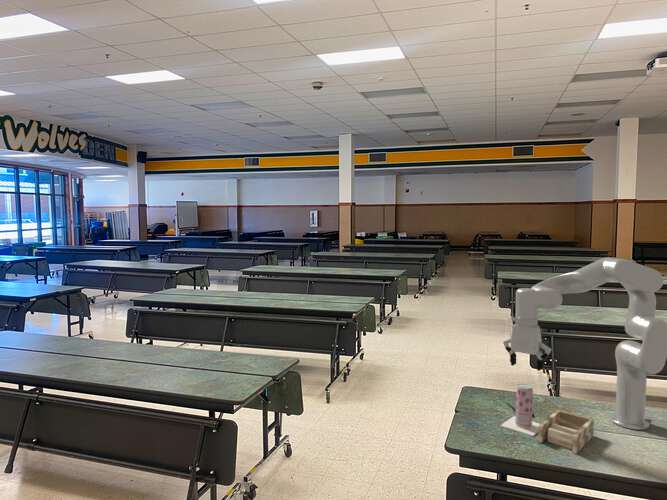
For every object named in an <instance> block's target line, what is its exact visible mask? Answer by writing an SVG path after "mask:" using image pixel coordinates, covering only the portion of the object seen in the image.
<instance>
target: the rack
mask: <svg viewBox="0 0 667 500" xmlns="http://www.w3.org/2000/svg"><path fill="white" fill-rule="evenodd" d="M553 424H557V425H560V426H564V427H567V428H571V429H574V430H578V431H577V432H576V433H575V434H574V435H573V448H572V449H571V450H572V454H573V455H577V454H578V453H579V452H580V451H581V450H582V449H583V448H584V447H585V446H586V444H587V443H588V442H589V441H590V440H591V439H592V438H593V437H594V428H595V426H594V424H595V419H593V418H590V417H586V416H582V415H578V414H575V413H570V412H567V411H564V410H560V409H557V410H556V411H554V412H553V413H552V414H550V416H548V417H546V419H544V420H543V421H542V422H540V425H538V433H537V443H539V444H542V443H544V442H545V441H546V440H548V428H549V427H551V426H552V425H553Z"/></svg>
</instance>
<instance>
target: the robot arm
mask: <svg viewBox="0 0 667 500" xmlns="http://www.w3.org/2000/svg"><path fill="white" fill-rule="evenodd" d="M611 281H612V282H617V283H620V285H622V287H623V288H624V289H625V290H626V291H627V294H628V298H629V299H628V300H629V301H628V310H627V313H626V319H625V322H624V323H625V324H624V331H625V333H626V334H627V335H629V336H630V337H632V338H634V339H636V340H639V341H642V343H640V342H637V341H635V340H629V339H627V340H623V341H621V342H619V343H618V344H617V345H616V347H615V351H614V357H615V363H616V389H615V390H616V391H615V411H614V412H615V413H613V414H611V415H610V420H611V422H612V423H614V424H615V425H617V426H619V427H623V428H626V429H630V430H638V431H639V430H640V431H644V430H647V429H649V428H650V422H649V421H647V420H646V418H645V417H646V402H647V401H646V399H647V374H648V375H656V374H659V373H660V372H661V371H662V370H663V369H664V366H665V364H666V361H667V322H666V321H665V320H663V319H662V318H658V317H655V315H656V308H657V307H656V306H657V297H656V294H655V292H657V291H659V290H660V289H661V288H663V287H662V286H663V285H664V277H663V275H662V273H660V272H659V271H658V270H656V269H654V268H651V267H649V266H646V265H642V264H639V263H637V262H634V261H631V260H628V259H625V258H618V257H609V256H608V257H602V258H600V259H598V260H596V261H593V262H591V263H589V264H587V265H585V266H583V267H581V268H578V269H577V270H574V271H571V272H567V273H564V274H560V275H557V276H553V277H550V278H547V279H544V280H542V281H540V282H538V283H536V284H535V285H533V286H531V288H529V287H519V288H518V289H517V290H516V292H515V316H512V318H511V320H512V322H513V321H514V324H513V325H512V330H511V337H510V339H509V338H508V339H507V340H504V341H503V343H502V344H503V345H504V347H505V350H506V351H507V352H508V354H509V362H510V365H511V366H515V365H516V364H517V353H520V354H526V355H527V354H528V355H532V356H533V355H535V356H536V357H537V360H536V370H537V371H539V372H541V371H542V370H543V369H544V360H545V359H546V358H547V357H548V356H549V355H550V353H551V351H552V348H551V347H549V346H547V345H546V344H544V343H543V342H542V333H541V329H540V328H541V327H540V325H539V324H538V315H539V313H538V311H539V309H543V310H544V309H546V310H553V309H557V308H559V307H560V306H561V305H562V303H563V296H562V295H565V294H582V293H587V292H589V291H592V290H594V289H595V288H597V287H599V286H602V285H604V284H606V283H608V282H611ZM542 350H544V353H542Z"/></svg>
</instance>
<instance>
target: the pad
mask: <svg viewBox="0 0 667 500" xmlns="http://www.w3.org/2000/svg"><path fill="white" fill-rule="evenodd" d="M515 419H516V415H513V416H512V417H511V418H508V420H505V422H503V423H502V424H500V427H501V428H505V429H507V430H510V431H513V432H517V433H520V434H523V435H525V436H526V435H527V436H529V437H532V438H533V437H535V436H537V435H538V425H540V424H541V422H540V423H539V422H536V421H533V420H532V426H531V427H530V428H521V427H519V426H517V425H516V423H515Z"/></svg>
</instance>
